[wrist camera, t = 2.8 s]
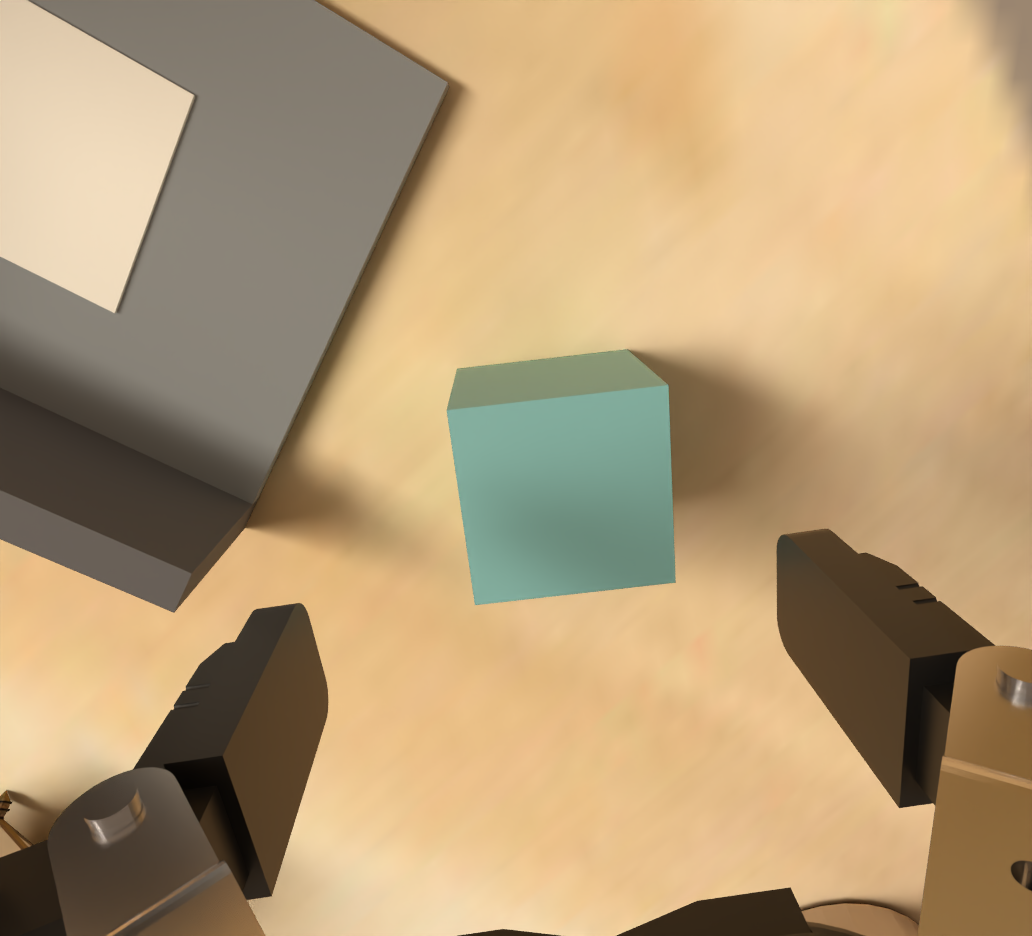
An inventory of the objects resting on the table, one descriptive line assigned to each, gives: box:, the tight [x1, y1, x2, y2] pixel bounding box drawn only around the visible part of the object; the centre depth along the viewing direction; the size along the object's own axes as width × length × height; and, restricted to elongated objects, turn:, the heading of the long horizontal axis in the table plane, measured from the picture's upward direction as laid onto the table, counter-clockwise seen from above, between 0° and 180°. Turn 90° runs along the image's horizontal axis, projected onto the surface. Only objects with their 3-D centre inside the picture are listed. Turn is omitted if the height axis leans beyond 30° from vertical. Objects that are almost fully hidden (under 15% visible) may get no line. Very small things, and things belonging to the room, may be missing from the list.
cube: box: [447, 349, 676, 605], centre depth 19 cm, size 5×5×5 cm
